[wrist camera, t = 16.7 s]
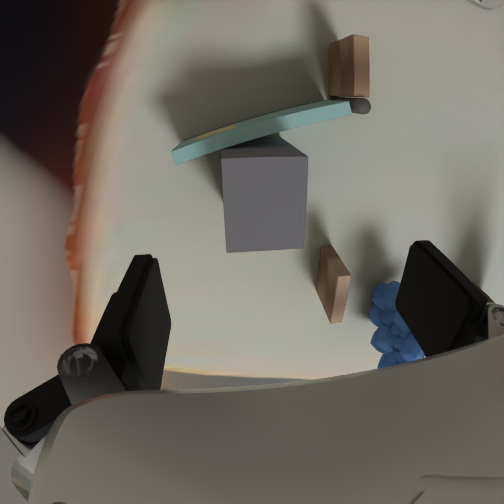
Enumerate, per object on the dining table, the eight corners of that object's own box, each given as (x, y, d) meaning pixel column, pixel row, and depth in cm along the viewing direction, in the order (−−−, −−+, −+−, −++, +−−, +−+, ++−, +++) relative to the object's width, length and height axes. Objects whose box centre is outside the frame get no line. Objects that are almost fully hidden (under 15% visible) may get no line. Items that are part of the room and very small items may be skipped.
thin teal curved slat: (325, 99, 23) (348, 100, 18) (328, 111, 23) (352, 114, 19) (181, 140, 24) (170, 150, 19) (185, 152, 24) (175, 165, 20)
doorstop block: (222, 139, 24) (220, 159, 16) (281, 137, 25) (308, 156, 17) (225, 205, 27) (226, 252, 19) (280, 202, 27) (303, 248, 20)
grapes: (397, 330, 37) (435, 395, 27) (353, 341, 37) (385, 413, 27) (412, 258, 32) (470, 323, 21) (362, 268, 32) (412, 343, 21)
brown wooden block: (328, 45, 21) (355, 33, 16) (341, 46, 21) (370, 36, 16) (316, 290, 33) (331, 325, 27) (326, 289, 33) (342, 324, 28)
